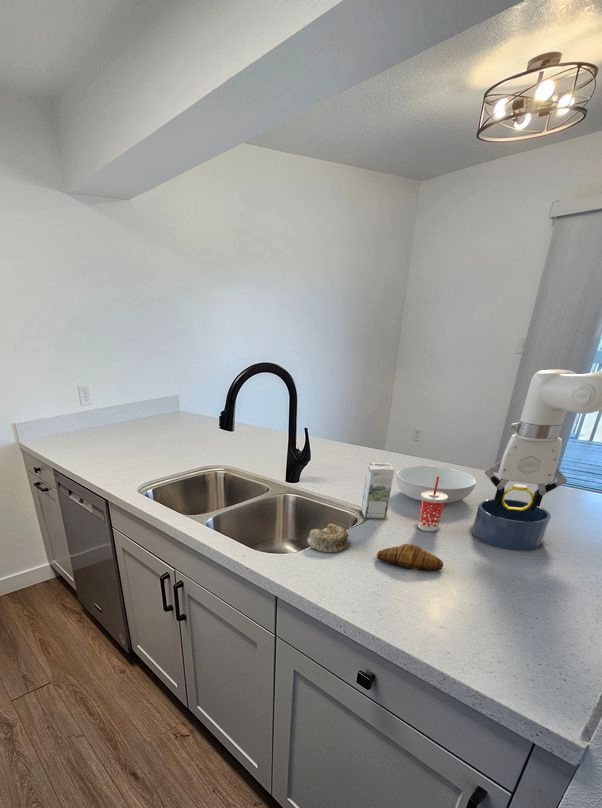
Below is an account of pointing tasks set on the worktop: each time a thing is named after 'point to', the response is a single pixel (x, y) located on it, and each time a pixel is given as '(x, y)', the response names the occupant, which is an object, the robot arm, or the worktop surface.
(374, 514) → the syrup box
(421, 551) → the croissant
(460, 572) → the worktop surface
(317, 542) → the beige coiled mound
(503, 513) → the blue pet bowl
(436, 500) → the beverage cup
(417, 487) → the serving bowl
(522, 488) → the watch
